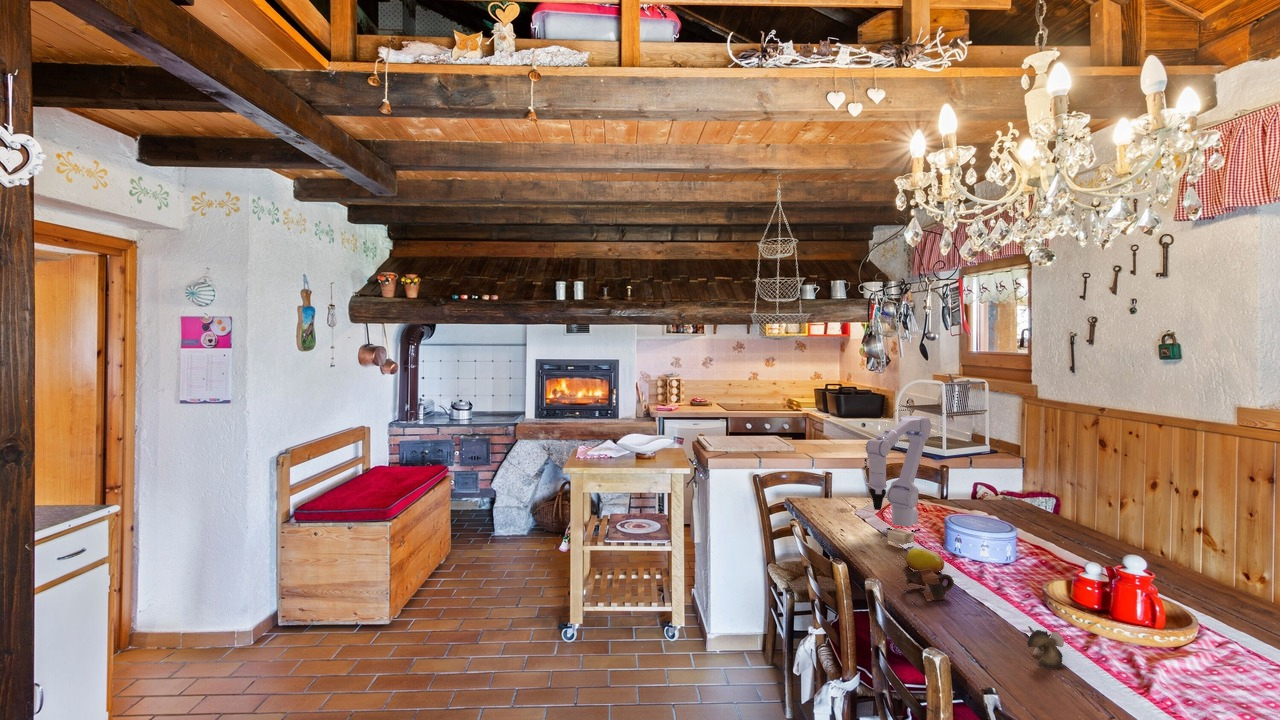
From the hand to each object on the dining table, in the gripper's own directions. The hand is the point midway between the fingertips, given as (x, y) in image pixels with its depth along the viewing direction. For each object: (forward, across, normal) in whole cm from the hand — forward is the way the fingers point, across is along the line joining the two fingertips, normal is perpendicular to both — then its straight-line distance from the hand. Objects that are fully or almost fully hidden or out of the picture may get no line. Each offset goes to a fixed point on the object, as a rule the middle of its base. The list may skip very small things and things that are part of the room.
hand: (877, 509), depth 211 cm
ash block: (+10, +8, +7) cm, 15 cm away
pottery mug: (+10, +50, +11) cm, 52 cm away
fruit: (+10, +30, +12) cm, 34 cm away
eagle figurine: (+10, +79, +30) cm, 85 cm away
